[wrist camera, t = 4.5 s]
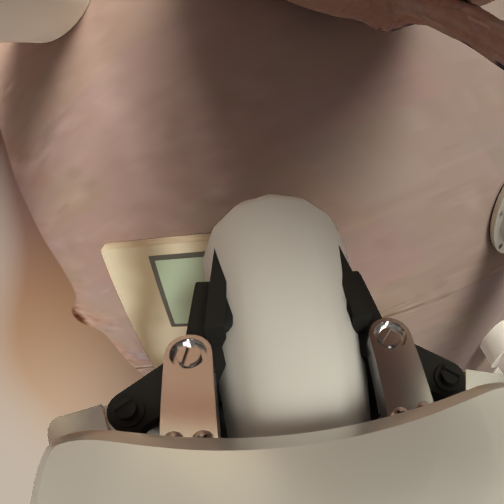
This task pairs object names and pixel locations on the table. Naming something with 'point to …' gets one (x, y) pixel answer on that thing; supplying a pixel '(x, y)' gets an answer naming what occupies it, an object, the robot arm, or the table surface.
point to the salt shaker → (286, 321)
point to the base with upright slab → (494, 346)
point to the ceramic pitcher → (425, 19)
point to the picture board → (157, 285)
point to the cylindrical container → (38, 19)
